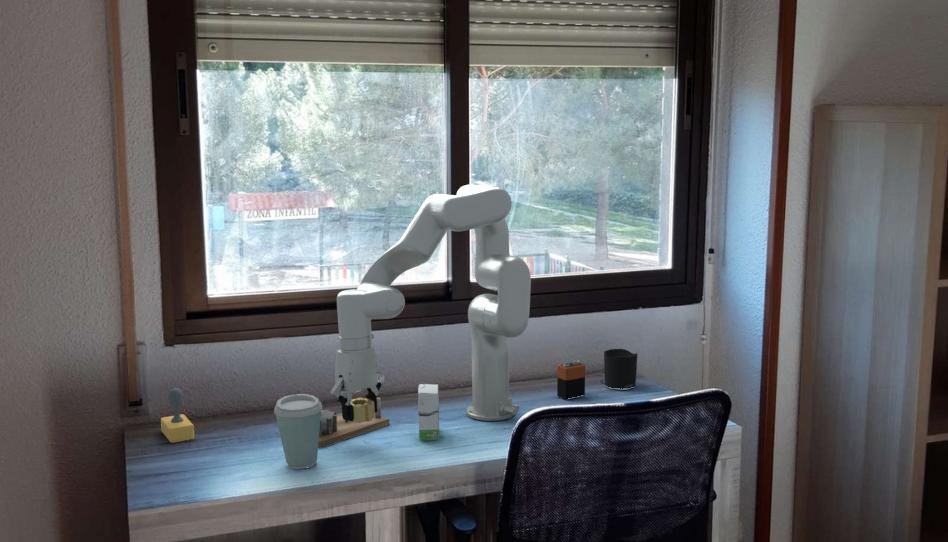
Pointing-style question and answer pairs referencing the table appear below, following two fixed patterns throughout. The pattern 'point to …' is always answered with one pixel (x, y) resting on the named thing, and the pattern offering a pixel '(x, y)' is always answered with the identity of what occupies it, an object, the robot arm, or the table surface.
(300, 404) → the disposable coffee cup
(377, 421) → the gear board
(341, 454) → the table surface
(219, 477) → the table surface
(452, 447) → the table surface
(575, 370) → the battery
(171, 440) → the rubber stamp
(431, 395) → the ink box
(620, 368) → the pen holder
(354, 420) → the brass gear
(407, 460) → the table surface
